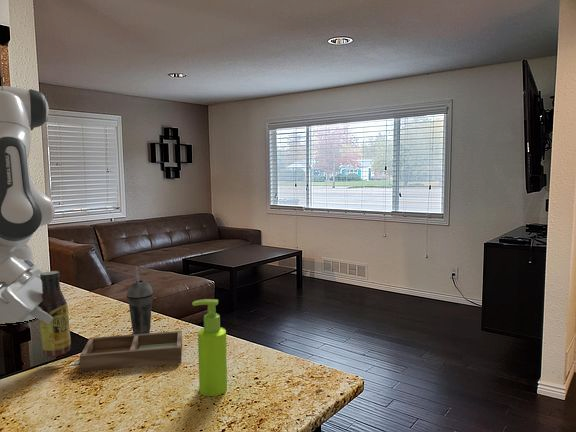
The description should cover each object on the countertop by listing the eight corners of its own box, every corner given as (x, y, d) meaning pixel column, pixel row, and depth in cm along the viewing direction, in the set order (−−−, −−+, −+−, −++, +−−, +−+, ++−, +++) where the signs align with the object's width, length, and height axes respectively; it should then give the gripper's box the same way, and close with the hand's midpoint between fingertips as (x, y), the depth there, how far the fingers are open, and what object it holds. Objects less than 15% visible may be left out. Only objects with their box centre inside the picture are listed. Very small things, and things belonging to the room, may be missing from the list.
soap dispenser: (196, 383, 99) (194, 296, 96) (227, 382, 99) (226, 295, 97) (192, 397, 93) (190, 305, 90) (226, 396, 93) (224, 304, 91)
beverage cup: (160, 330, 129) (157, 263, 127) (144, 340, 122) (141, 269, 120) (139, 327, 132) (136, 262, 129) (122, 336, 125) (119, 267, 122)
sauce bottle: (59, 359, 104) (49, 277, 101) (36, 357, 105) (26, 276, 102) (78, 347, 110) (69, 269, 107) (56, 346, 111) (47, 269, 109)
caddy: (90, 352, 114) (89, 337, 114) (182, 345, 119) (181, 330, 119) (80, 372, 104) (79, 356, 103) (181, 363, 109) (180, 347, 108)
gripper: (-1, 279, 93) (53, 321, 97) (33, 258, 113) (76, 293, 116) (-23, 301, 93) (32, 342, 96) (15, 276, 113) (59, 310, 116)
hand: (56, 315), depth 106 cm, fingers closed on sauce bottle, 6 cm apart
